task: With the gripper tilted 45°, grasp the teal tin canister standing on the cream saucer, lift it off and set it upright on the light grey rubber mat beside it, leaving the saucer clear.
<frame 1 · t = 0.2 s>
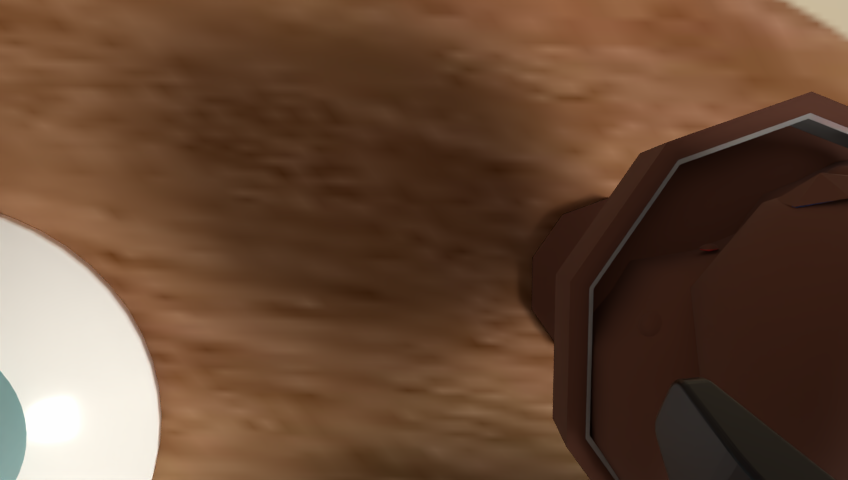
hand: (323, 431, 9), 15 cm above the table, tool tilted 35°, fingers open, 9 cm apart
ice cream bowl: (604, 279, 26), on the table
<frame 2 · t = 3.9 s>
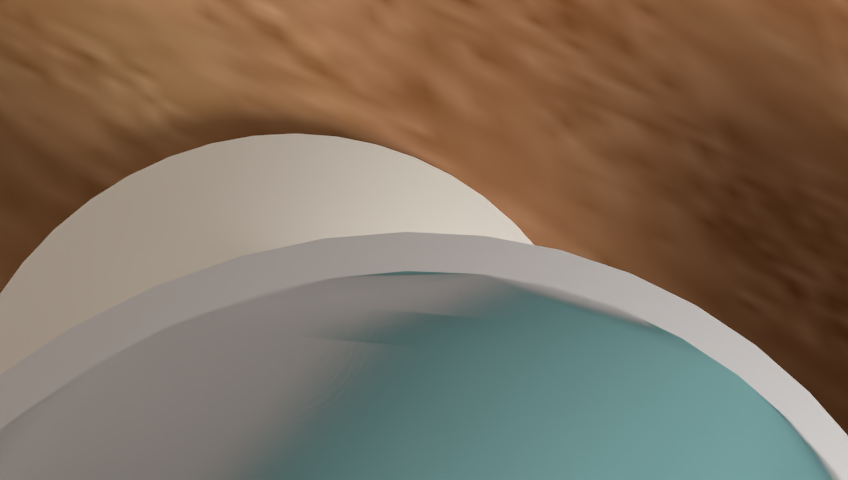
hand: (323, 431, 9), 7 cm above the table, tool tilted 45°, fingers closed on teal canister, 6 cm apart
cream saucer: (300, 447, 16), on the table
teal canister: (302, 456, 15), point 1 cm above the table, touching cream saucer, gripper
when the fingers open (8 cm above the table, at t = 8.3 s): teal canister drops 1 cm, resting on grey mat.
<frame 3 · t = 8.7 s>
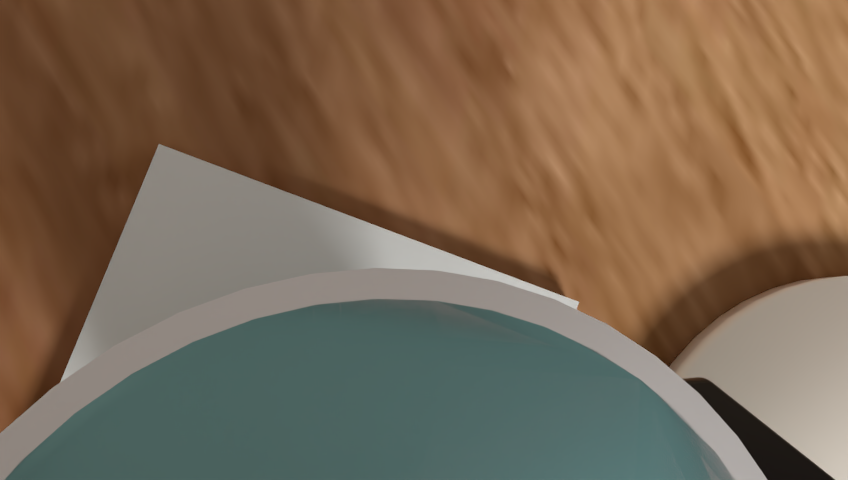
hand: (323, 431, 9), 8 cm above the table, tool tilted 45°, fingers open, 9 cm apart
teal canister: (300, 450, 16), point 1 cm above the table, touching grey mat
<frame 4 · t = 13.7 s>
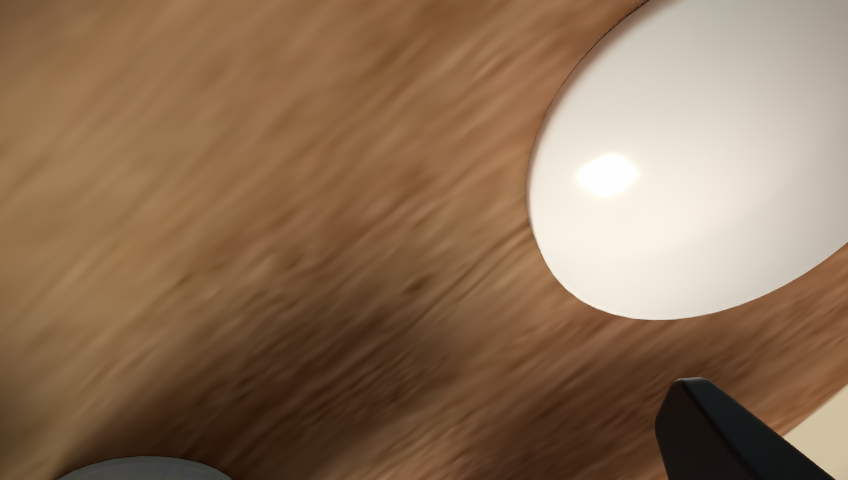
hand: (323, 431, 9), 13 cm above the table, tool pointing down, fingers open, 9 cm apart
cream saucer: (719, 155, 25), on the table
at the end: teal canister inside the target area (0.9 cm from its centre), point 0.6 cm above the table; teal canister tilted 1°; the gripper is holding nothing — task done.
